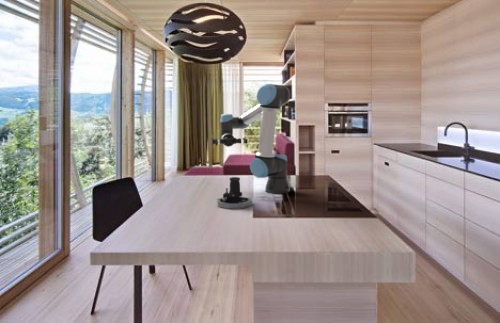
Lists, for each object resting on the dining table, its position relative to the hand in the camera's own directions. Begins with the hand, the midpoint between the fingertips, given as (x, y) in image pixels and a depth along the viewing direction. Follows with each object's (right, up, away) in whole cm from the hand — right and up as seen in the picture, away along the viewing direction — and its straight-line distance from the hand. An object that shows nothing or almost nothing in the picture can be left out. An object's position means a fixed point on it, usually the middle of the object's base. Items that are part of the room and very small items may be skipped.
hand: (231, 142), depth 221 cm
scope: (+1, -33, -11) cm, 35 cm away
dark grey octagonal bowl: (+2, -34, -11) cm, 35 cm away
